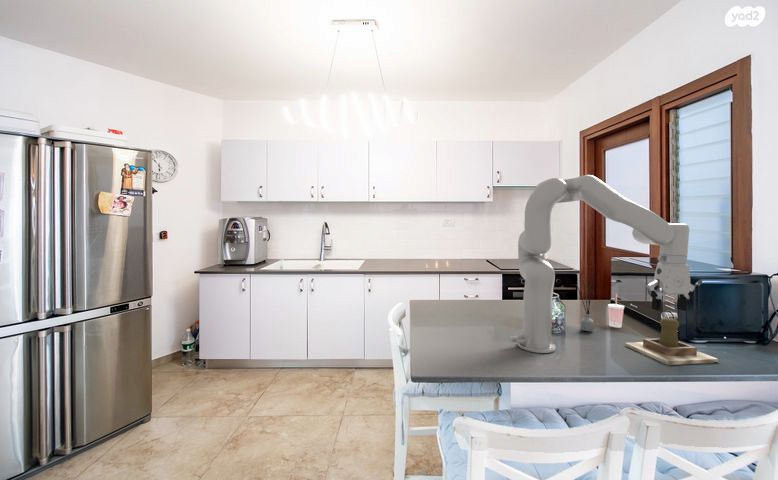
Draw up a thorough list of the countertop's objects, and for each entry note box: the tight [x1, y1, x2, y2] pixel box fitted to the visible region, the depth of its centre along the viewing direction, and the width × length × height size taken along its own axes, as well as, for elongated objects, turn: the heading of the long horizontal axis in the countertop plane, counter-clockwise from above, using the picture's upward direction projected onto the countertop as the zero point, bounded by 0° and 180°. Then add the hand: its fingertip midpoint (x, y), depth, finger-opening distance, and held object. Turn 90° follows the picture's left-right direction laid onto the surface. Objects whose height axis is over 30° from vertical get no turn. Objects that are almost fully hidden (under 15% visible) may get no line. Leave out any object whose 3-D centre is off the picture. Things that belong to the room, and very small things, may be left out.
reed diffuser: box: [576, 281, 595, 332], centre depth 154 cm, size 10×7×20 cm
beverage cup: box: [607, 293, 625, 329], centre depth 162 cm, size 6×6×14 cm
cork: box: [658, 317, 680, 347], centre depth 128 cm, size 6×6×11 cm
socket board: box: [624, 337, 719, 366], centre depth 129 cm, size 18×18×4 cm
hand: (668, 309), depth 128 cm, fingers open, 9 cm apart
